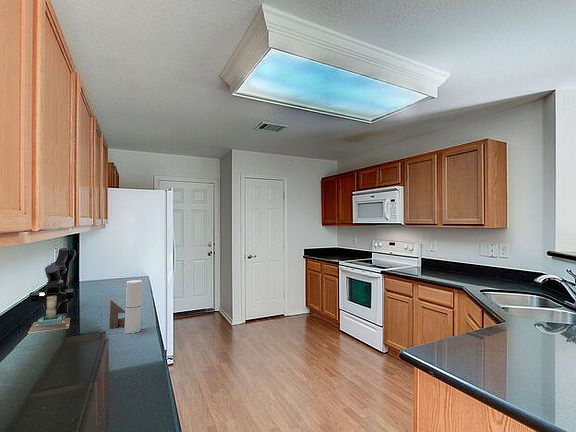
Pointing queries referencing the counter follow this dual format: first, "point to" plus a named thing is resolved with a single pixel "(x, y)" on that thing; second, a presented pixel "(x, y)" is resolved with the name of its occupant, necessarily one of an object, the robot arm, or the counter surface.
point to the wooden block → (116, 315)
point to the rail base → (49, 326)
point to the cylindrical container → (133, 306)
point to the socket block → (44, 321)
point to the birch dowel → (51, 307)
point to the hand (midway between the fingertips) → (51, 309)
